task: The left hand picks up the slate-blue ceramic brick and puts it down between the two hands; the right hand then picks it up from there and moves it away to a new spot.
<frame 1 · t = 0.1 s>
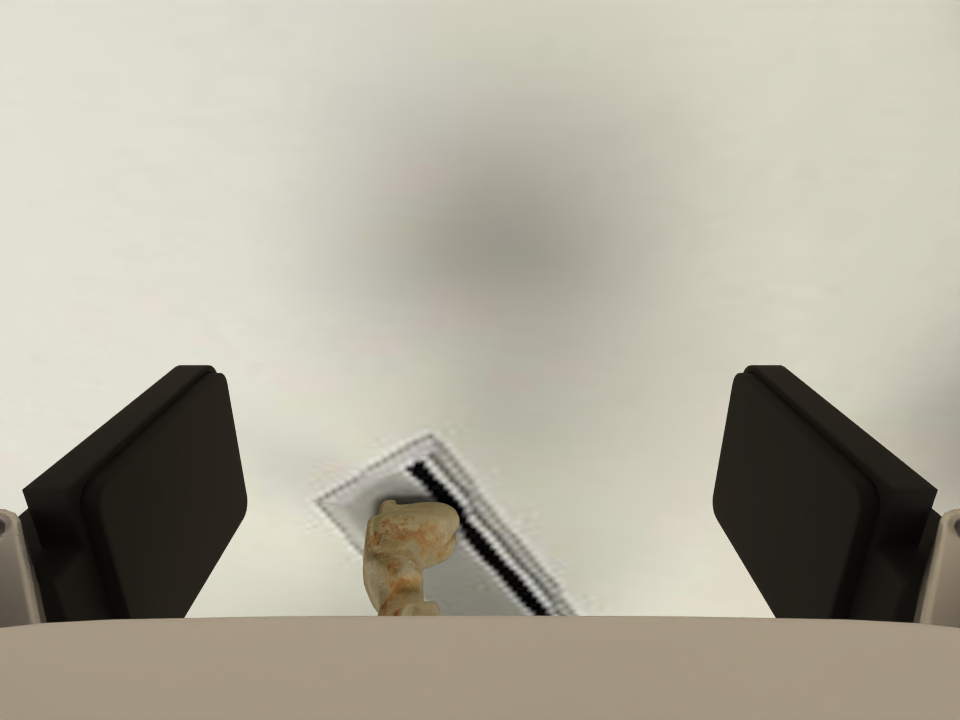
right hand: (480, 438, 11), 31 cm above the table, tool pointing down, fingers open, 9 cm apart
sculpture: (415, 515, 49), on the table
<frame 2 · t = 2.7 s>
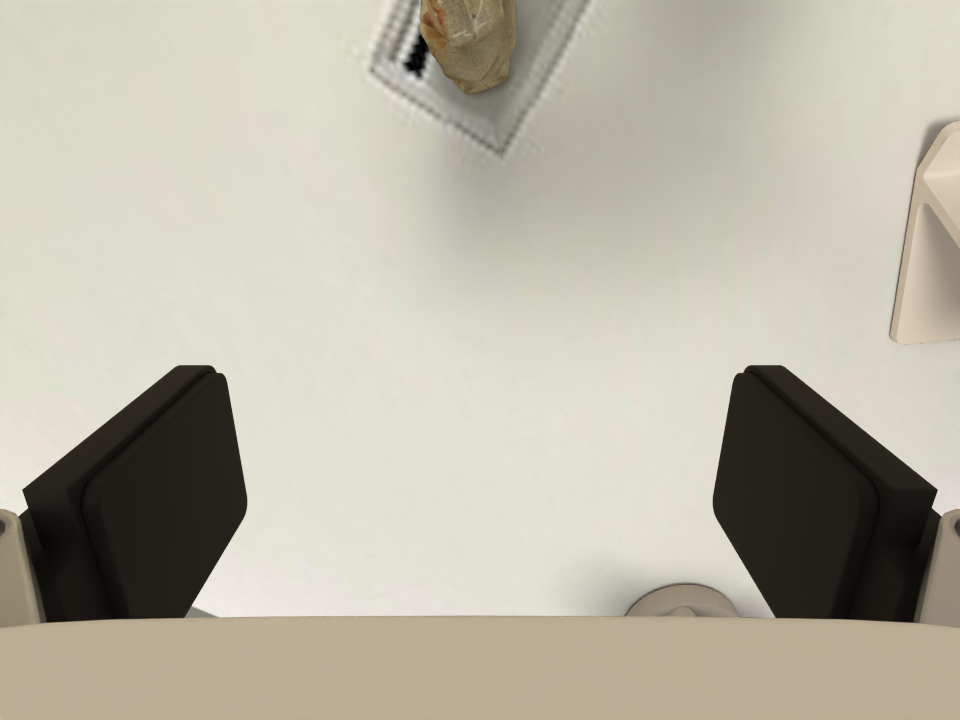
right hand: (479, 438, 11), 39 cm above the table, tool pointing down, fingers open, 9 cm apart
sculpture: (470, 40, 43), on the table
bust sculpture: (647, 617, 64), on the table
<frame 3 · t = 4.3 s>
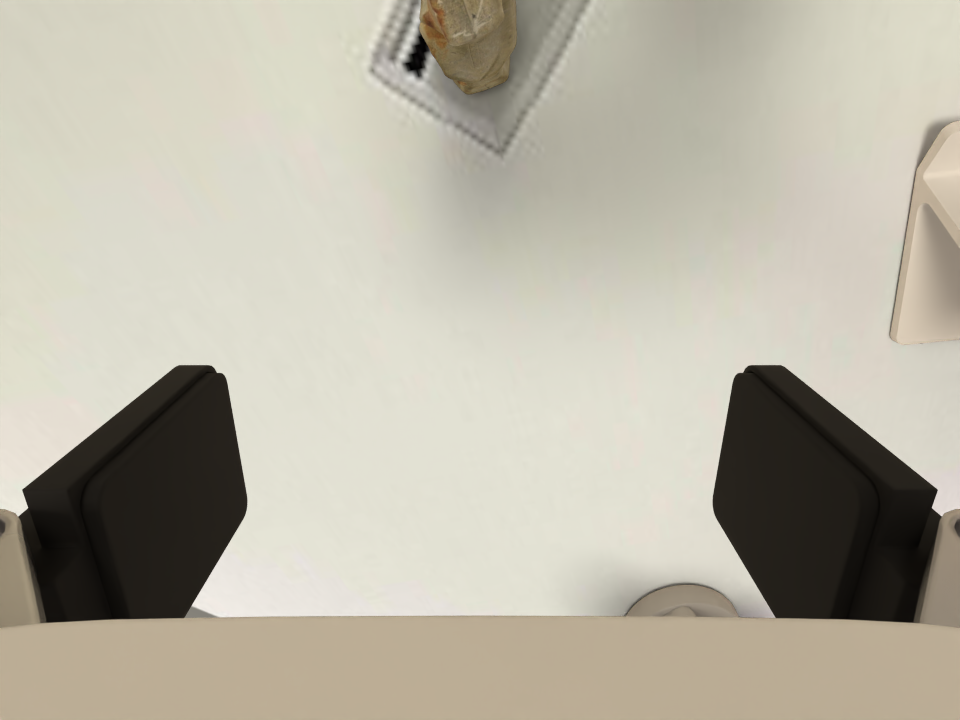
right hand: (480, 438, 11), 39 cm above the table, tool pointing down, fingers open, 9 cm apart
sculpture: (470, 40, 43), on the table
bust sculpture: (647, 617, 64), on the table
when the left hand's fingers open (8 cm above the table, at t = 6.0 s): brick stays where it is, on the table.
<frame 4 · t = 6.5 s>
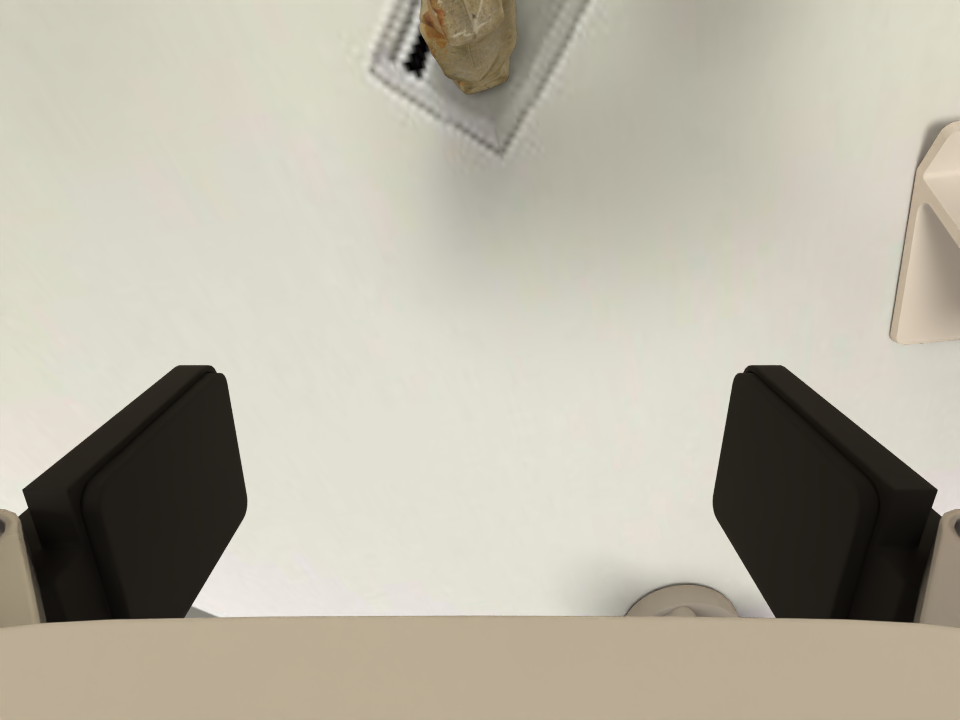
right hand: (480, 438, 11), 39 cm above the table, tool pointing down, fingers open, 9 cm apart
sculpture: (470, 40, 43), on the table
bust sculpture: (647, 617, 64), on the table
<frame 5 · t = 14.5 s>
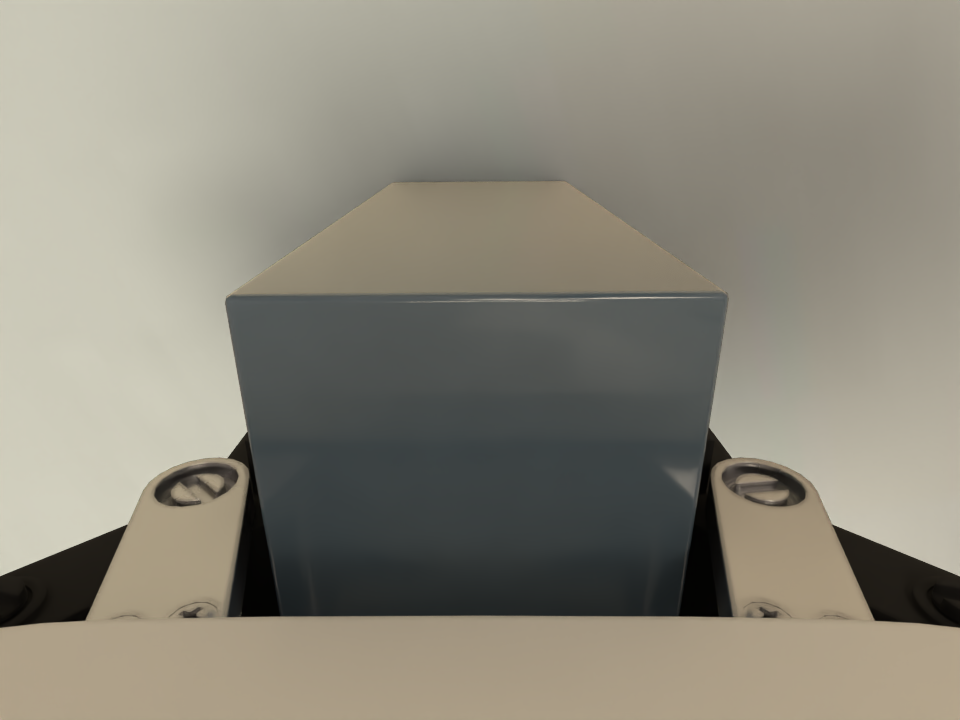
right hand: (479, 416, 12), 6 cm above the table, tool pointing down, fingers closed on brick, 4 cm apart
brick: (480, 316, 18), on the table, touching right hand
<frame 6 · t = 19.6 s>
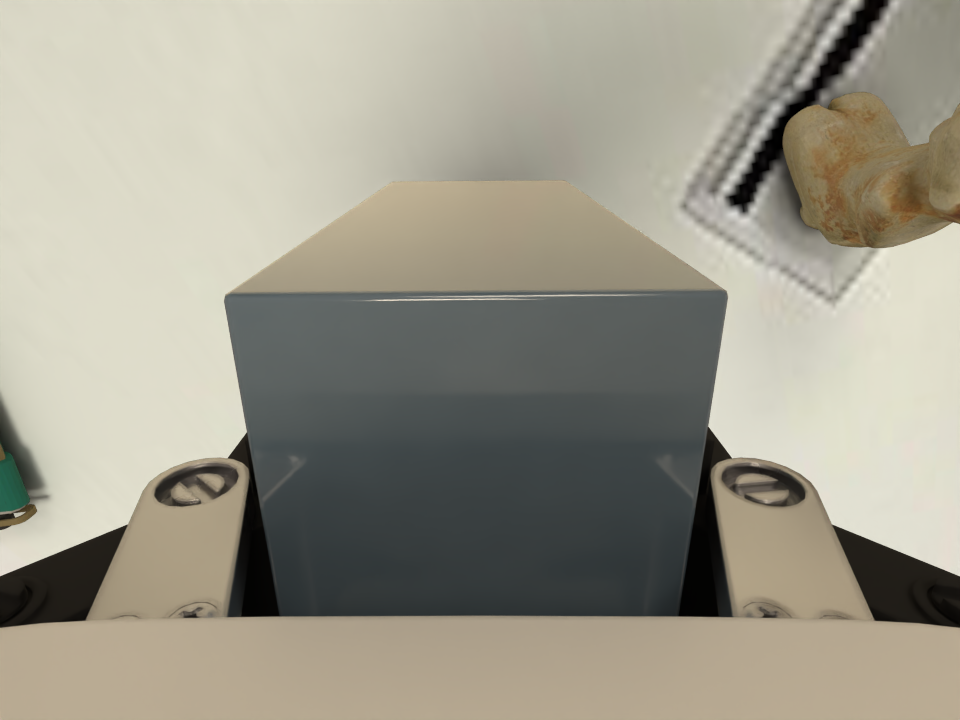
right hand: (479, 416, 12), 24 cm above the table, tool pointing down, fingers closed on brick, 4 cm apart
sculpture: (820, 166, 33), on the table
brick: (479, 315, 17), point 18 cm above the table, touching right hand
when the right hand's fingers open (7 cm above the table, at t = 24.7 s): brick stays where it is, on the table.
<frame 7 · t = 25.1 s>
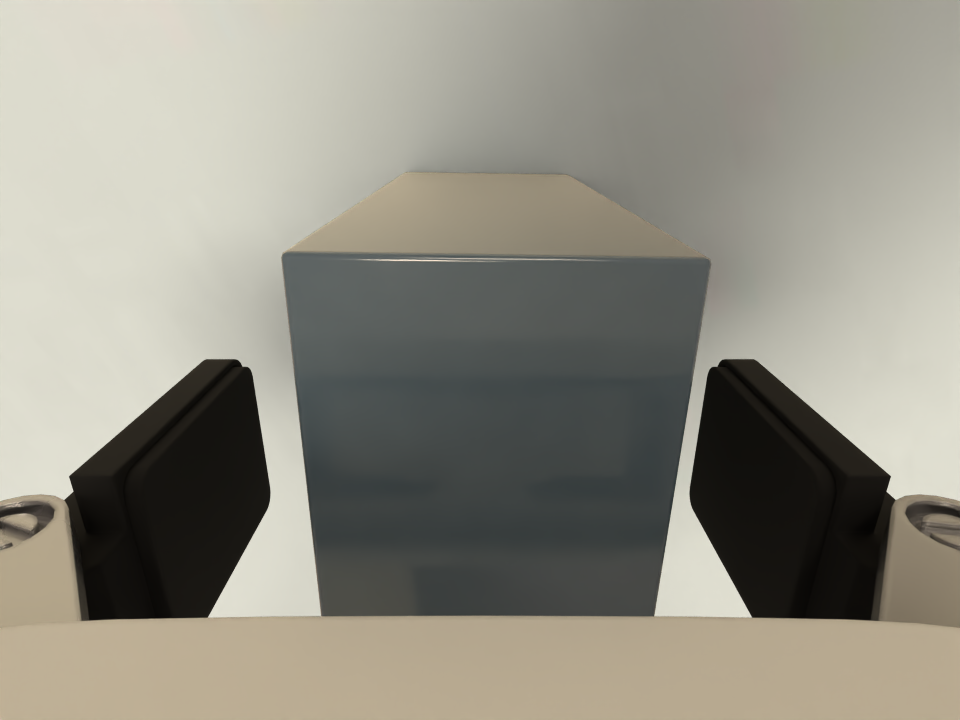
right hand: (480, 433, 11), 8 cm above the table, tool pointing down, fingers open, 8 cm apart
brick: (484, 301, 18), on the table
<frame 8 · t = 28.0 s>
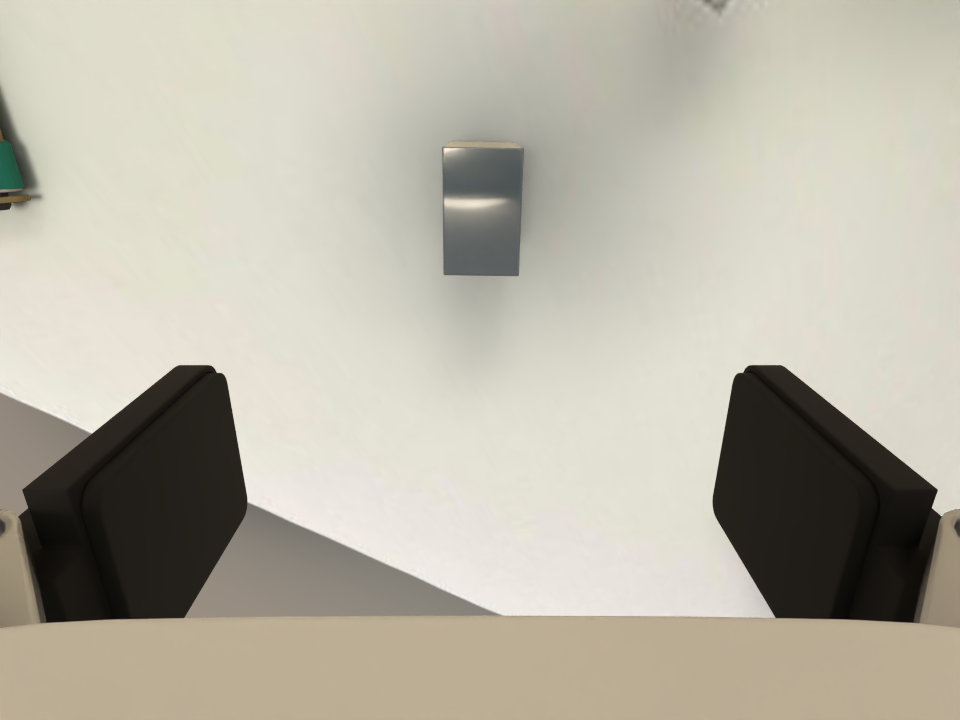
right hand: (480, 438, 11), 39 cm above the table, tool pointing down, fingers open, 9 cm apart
brick: (481, 193, 47), on the table
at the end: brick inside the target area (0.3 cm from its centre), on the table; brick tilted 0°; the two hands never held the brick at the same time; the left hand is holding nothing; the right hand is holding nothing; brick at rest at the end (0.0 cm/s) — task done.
